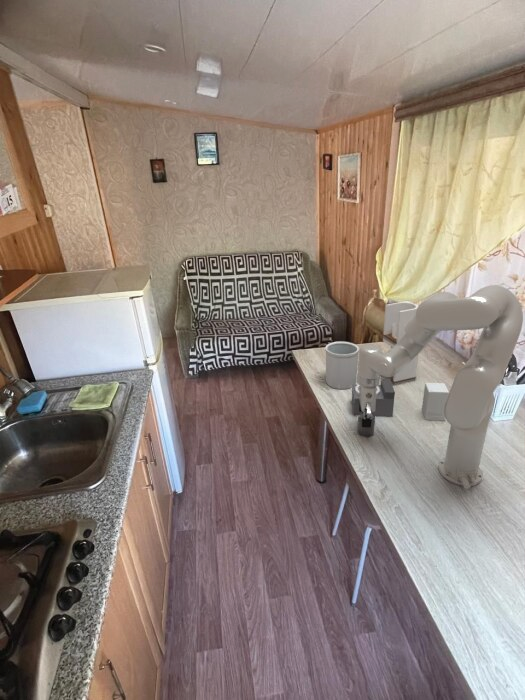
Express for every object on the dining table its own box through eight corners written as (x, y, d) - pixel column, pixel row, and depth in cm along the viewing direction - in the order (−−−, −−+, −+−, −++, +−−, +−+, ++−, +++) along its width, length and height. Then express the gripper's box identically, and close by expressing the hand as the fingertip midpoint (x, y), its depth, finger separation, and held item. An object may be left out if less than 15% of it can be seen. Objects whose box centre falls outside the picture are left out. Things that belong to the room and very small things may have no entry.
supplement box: (445, 421, 148) (449, 392, 143) (424, 420, 150) (428, 391, 144) (441, 410, 154) (445, 382, 149) (421, 409, 156) (424, 382, 151)
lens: (375, 437, 142) (376, 420, 139) (357, 436, 143) (358, 420, 140) (372, 427, 147) (373, 411, 144) (356, 426, 148) (357, 411, 145)
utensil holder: (337, 371, 190) (337, 338, 183) (363, 380, 180) (365, 346, 173) (318, 382, 181) (318, 348, 173) (345, 393, 171) (346, 357, 163)
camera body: (392, 416, 153) (394, 392, 148) (353, 415, 155) (354, 391, 150) (388, 401, 163) (390, 378, 158) (351, 400, 165) (352, 378, 160)
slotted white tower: (401, 370, 186) (407, 300, 172) (415, 380, 177) (423, 307, 162) (380, 375, 183) (385, 304, 169) (393, 385, 174) (400, 311, 160)
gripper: (382, 392, 128) (378, 434, 135) (375, 367, 143) (372, 406, 150) (359, 391, 129) (356, 433, 136) (355, 366, 144) (352, 405, 151)
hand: (364, 418), depth 143 cm, fingers open, 9 cm apart
